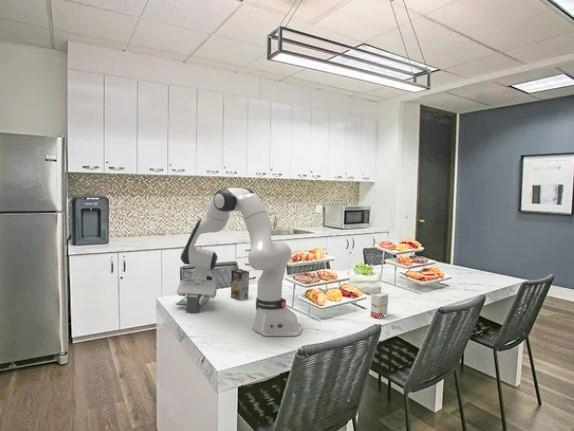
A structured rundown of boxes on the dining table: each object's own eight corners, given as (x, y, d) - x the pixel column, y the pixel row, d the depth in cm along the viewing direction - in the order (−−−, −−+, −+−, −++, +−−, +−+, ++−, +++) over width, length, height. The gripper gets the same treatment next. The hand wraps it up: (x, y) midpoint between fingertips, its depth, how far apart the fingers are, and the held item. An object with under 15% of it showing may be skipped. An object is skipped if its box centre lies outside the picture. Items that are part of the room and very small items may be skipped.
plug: (199, 311, 189) (199, 294, 188) (196, 313, 185) (196, 297, 184) (190, 310, 189) (190, 294, 189) (187, 312, 185) (187, 296, 185)
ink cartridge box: (378, 319, 185) (380, 290, 184) (370, 316, 189) (371, 288, 188) (387, 315, 191) (389, 287, 190) (379, 313, 195) (380, 285, 194)
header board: (209, 298, 210) (209, 295, 210) (201, 306, 196) (201, 303, 196) (186, 297, 211) (186, 294, 211) (176, 304, 197) (176, 301, 197)
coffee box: (230, 297, 214) (230, 270, 212) (238, 295, 218) (239, 268, 217) (240, 301, 207) (241, 273, 206) (249, 298, 212) (249, 271, 211)
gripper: (179, 275, 194) (171, 299, 185) (217, 278, 192) (210, 302, 183) (182, 281, 199) (175, 305, 190) (219, 284, 196) (213, 308, 187)
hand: (192, 303), depth 186 cm, fingers closed on plug, 5 cm apart
